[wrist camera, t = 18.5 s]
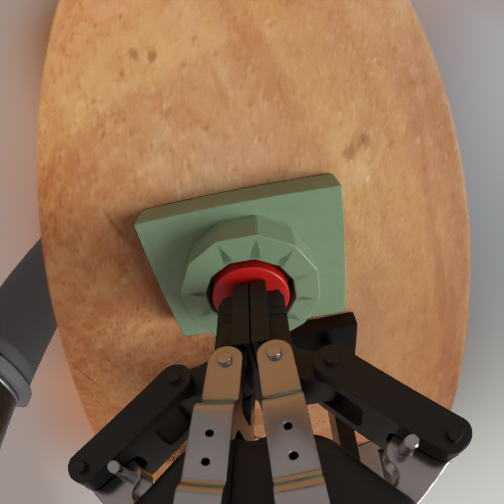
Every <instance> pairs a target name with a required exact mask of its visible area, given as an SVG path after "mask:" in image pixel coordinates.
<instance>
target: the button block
mask: <svg viewBox="0 0 504 504" xmlns="http://www.w3.org/2000/svg"><path fill="white" fill-rule="evenodd" d="M134 227H135V230H136V232H137V235H138V237H139V239H140V242H141V244H142V247H143V249H144V251H145V254H146V256H147V258H148V261H149V263H150V265H151V268H152V270H153V272H154V274H155V276H156V279H157V281H158V283H159V285H160V287H161V290H162V292H163V294H164V296H165V298H166V300H167V302H168V305H169V307H170V309H171V311H172V313H173V315H174V317H175V319H176V321H177V323H178V325H179V327H180V329H181V331H182V333H183V335H184V336H188V335H197V334H205V333H212V334H214V335H216V331H217V318H218V310H217V309H216V307H215V305H214V302H213V287H214V277H215V274H216V273H217V272H219V271H220V270H221V269H223V268H224V267H225V266H227V265H228V264H229V263H235V262H241V261H247V260H252V259H256V260H260V261H263V262H267V263H271V264H274V265H278V266H280V267H281V268H282V269H283V270H284V271H285V272H286V276H287V281H288V286H289V292H290V297H289V302H288V304H287V306H286V310H287V316H288V322H289V329H290V331H291V330H293V329H295V328H296V327H298V326H300V325H301V324H303V323H304V322H305V321H306V320H307V318H311V317H316V316H321V315H327V314H332V313H337V312H342V311H345V235H344V213H343V195H342V185H341V184H340V183H339V181H338V180H337V179H336V177H335V176H334V175H333V174H325V175H319V176H312V177H306V178H300V179H293V180H287V181H282V182H276V183H270V184H264V185H259V186H253V187H248V188H243V189H238V190H232V191H227V192H222V193H217V194H213V195H208V196H203V197H198V198H194V199H189V200H184V201H180V202H176V203H171V204H167V205H162V206H158V207H154V208H150V209H146V210H143V211H142V212H141V214H140V216H139V217H138V219H137V220H136V222H135V224H134Z"/></svg>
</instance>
